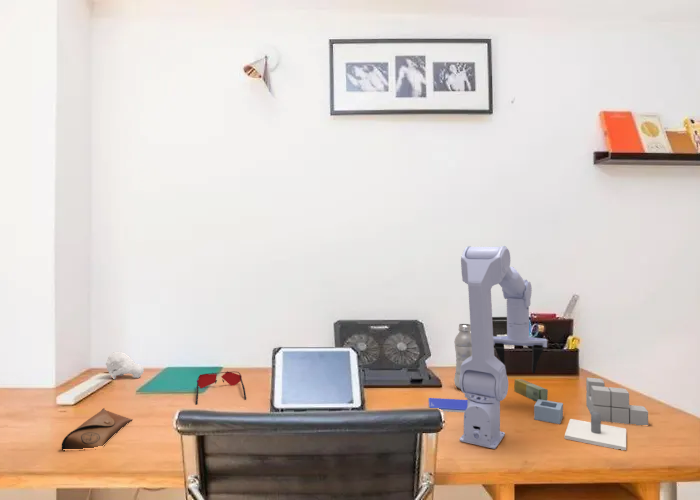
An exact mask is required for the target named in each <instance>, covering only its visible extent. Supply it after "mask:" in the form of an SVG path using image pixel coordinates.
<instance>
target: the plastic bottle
mask: <svg viewBox="0 0 700 500" xmlns="http://www.w3.org/2000/svg"><path fill="white" fill-rule="evenodd" d="M458 331H459V333H457V334H456V336H455V337H454V349H455V362H456V363H455V374H454V379H453V381H454V385H455V386H456V388H457V389H460V385H459V378H460V372H461V364H462V363H463V361H464V360H466V359H467V358H469V357H470V356H472V345H471V327H470V323H459V325H458Z"/></svg>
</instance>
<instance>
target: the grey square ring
mask: <svg viewBox="0 0 700 500" xmlns="http://www.w3.org/2000/svg"><path fill="white" fill-rule="evenodd" d="M533 407H534V408H533V414H534V415H533V419H534V420H536V421H540V422H546V423H551V424H552V423H553V424H557V425H561V422H562V420H563V418H564V403H563V402H559V401H557V402H556V401H552V400H547V401H546V400H540V399H538V400H537V402H536V401H535V404H534V406H533Z"/></svg>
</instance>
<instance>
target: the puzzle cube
mask: <svg viewBox="0 0 700 500" xmlns="http://www.w3.org/2000/svg"><path fill="white" fill-rule="evenodd" d="M604 381H605V380H604V379H602V378H594V377H586V380H585V382H586V383H585V384H586V385H585V386H586V387H585V389H586V390H585V391H586V396H585V397H586V399H585V400H586V401H585V402H586V408H587V410H588V411H589V414H590V415H591V412H593V411H594V412H599V413H601V422H607V423H615V424H623V423H624V424H625V425H631V424H636V425H635V426H640V425H648V426H649V411H648V409H647V408H646V407H645V406H643V405H635V404H634V405H633V404H632V405H631V404H630V392H628V390H627V389H626V388H621V387H611V386H609V387H608V386H605V382H604Z"/></svg>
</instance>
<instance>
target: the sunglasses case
mask: <svg viewBox="0 0 700 500" xmlns="http://www.w3.org/2000/svg"><path fill="white" fill-rule="evenodd" d="M130 421H131V422H132V421H133V419H132V418H129V417H126V416H123V415H120V414H117V413H114V412H112V411H109V410H106V409H105V407H104V408H102V409H101V410H100V411H99V412H97V413H95V414H94V415H93V416H91V417H90V418H88V419H87V420H86V421H84V422H83V423H82V424H80V425H79V426H78V427H76V428H75V429H74V430H72V431H71V432H69V433H68V434H67V435H66V436H65V437H64V438H63V440H62V442H61V449H62V451H63V449H83V448H94V447H98V446H103V445H104V444H105V443H106V442H107V441H108V440H109V439H110V438H111V437H112V436H113V435H114V434H115V433H116V434H118V433H119V432H120V431H121V430H122V429H123V428H124V427H126V424H127V423H128V424H129V422H130ZM131 422H130V423H131ZM128 424H127V425H128ZM122 427H123V428H122ZM121 428H122V429H121ZM120 429H121V430H120ZM119 430H120V431H119ZM118 431H119V432H118ZM116 434H115V435H116ZM115 435H114V436H115ZM114 436H113V437H114ZM113 437H112V438H113ZM112 438H111V439H112ZM111 439H110V440H111ZM110 440H109V441H110ZM109 441H108V442H109ZM108 442H107V443H108ZM107 443H106V444H107ZM106 444H105V445H106ZM105 445H104V446H105Z"/></svg>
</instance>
